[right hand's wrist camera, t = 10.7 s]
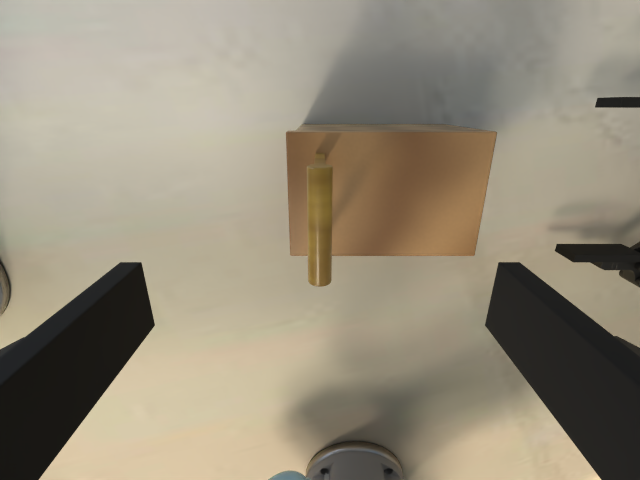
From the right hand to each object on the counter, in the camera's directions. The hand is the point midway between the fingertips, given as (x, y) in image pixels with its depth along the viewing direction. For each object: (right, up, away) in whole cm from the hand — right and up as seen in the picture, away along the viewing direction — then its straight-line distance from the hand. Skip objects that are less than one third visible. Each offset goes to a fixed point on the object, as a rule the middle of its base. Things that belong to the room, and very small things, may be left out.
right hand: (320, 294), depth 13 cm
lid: (+5, +6, +14) cm, 16 cm away
